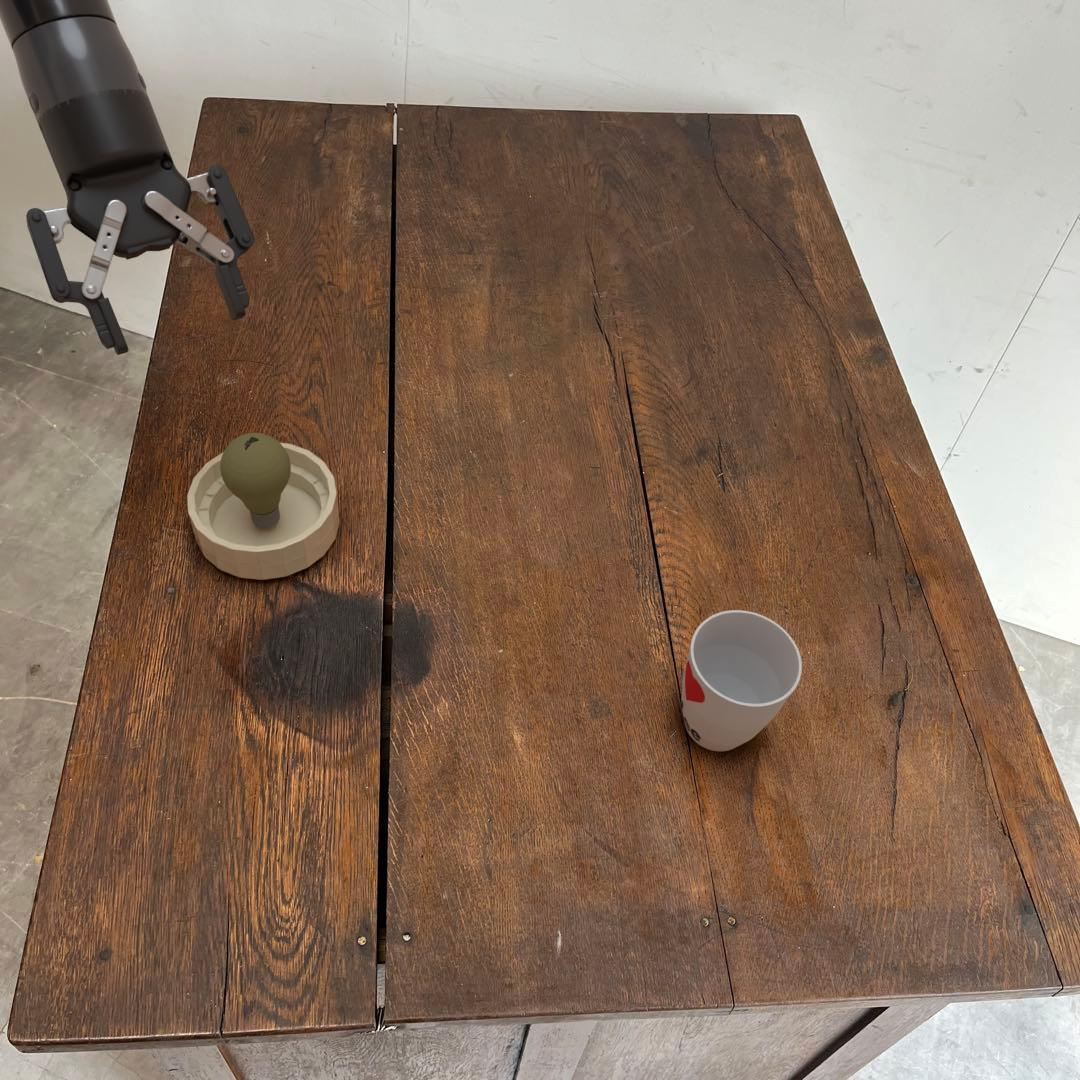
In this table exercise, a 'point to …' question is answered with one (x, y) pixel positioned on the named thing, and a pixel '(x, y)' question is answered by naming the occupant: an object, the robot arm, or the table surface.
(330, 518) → the bowl
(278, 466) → the light bulb
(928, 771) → the table surface
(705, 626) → the cup
